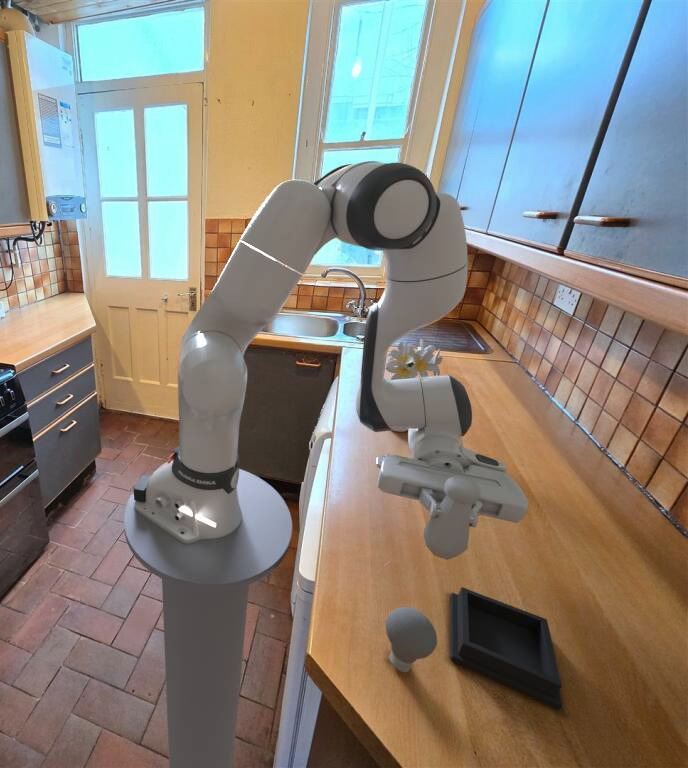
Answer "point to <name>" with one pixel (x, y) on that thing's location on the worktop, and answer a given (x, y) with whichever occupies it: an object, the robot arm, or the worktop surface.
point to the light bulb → (409, 637)
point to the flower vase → (408, 368)
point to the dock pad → (505, 645)
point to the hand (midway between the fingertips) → (454, 518)
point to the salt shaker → (452, 519)
